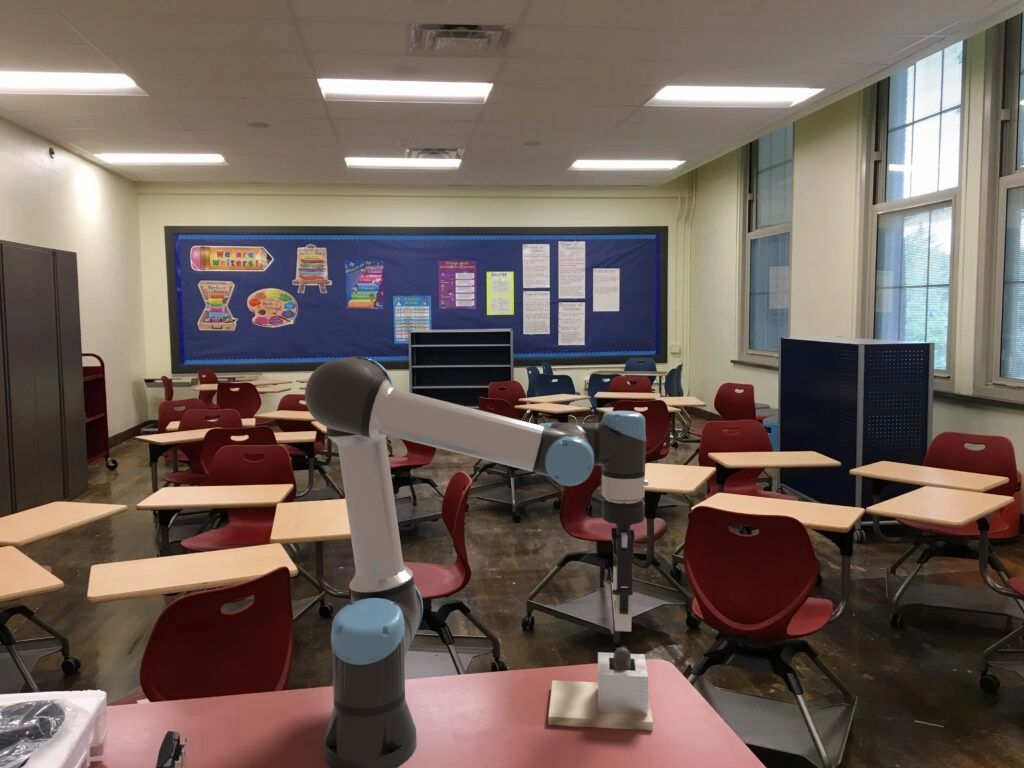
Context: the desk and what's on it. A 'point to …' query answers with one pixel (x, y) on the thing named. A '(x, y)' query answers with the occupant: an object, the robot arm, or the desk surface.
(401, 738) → the robot arm
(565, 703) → the board
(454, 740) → the desk surface
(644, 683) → the gray cube
